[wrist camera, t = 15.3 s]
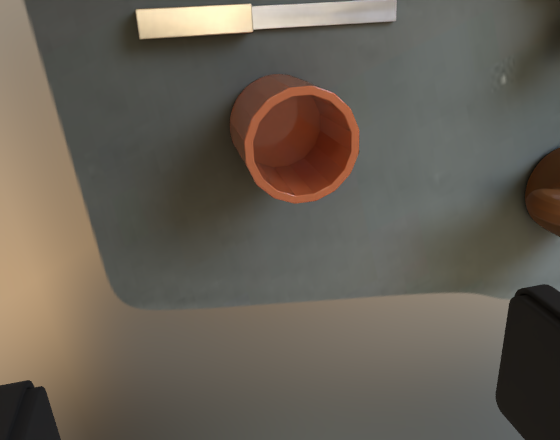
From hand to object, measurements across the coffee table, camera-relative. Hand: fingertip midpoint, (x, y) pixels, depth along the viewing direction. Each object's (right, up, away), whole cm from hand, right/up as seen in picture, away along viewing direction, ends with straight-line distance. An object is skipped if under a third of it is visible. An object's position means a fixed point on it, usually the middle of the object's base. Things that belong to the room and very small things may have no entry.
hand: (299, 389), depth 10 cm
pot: (-1, +10, +25) cm, 27 cm away
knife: (-1, +17, +22) cm, 28 cm away
